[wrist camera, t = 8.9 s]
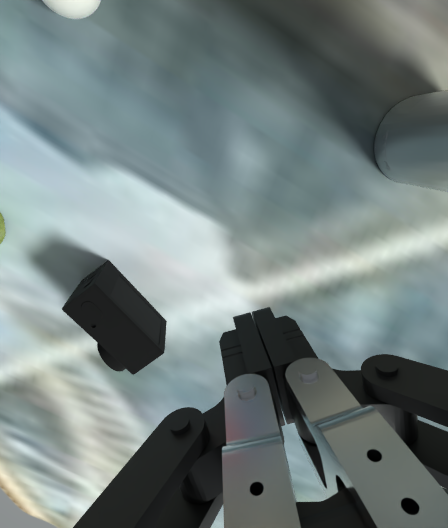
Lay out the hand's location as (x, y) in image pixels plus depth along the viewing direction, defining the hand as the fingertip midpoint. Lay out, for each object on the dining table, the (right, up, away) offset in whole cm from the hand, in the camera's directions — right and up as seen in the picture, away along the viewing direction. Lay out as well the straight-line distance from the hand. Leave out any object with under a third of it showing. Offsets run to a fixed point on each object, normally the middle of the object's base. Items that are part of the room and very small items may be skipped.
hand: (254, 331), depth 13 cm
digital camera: (-14, -2, +27) cm, 31 cm away
